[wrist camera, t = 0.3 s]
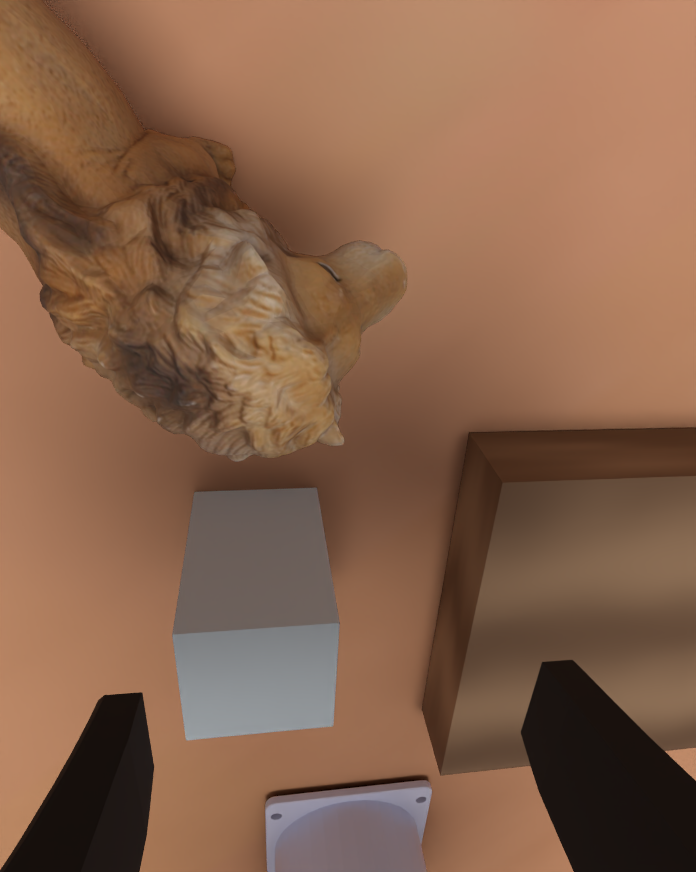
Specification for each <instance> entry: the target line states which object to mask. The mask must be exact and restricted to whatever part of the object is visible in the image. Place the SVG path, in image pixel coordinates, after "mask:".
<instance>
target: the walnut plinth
mask: <svg viewBox="0 0 696 872" xmlns="http://www.w3.org/2000/svg"><path fill="white" fill-rule="evenodd" d="M560 660H573V661H575V662H576V663H577V664H578V665H579V666H580V667H581V668H582V669H583V670H584V671H585V672H586V673H587V674H588V675H589V676H590V678H591V679H592V680H593V681H594V682H595V683H596V684H597V685H598V686H599V687H600V688H601V689H602V690H603V691H604V692H605V693H606V694H607V695H608V696H609V697H610V698H611V699H612V700H613V701H614V702H615V703H616V704H617V705H618V706H619V707H620V708H621V709H622V710H623V711H624V712H625V713H626V714H627V715H628V716H629V717H630V718H631V719H632V720H633V721H634V722H635V723H636V724H637V725H638V726H639V727H640V728H641V729H642V730H643V731H644V732H645V733H646V734H647V735H648V736H649V737H650V738H651V739H652V740H653V741H654V742H655V743H656V744H657V745H658V746H660V747H661V748H662V749H663V750H664V751H669V750H678V749H687V748H696V428H666V429H620V430H574V431H528V432H481V433H469V438H468V444H467V450H466V455H465V461H464V467H463V473H462V479H461V485H460V490H459V496H458V502H457V508H456V514H455V520H454V525H453V531H452V537H451V543H450V549H449V555H448V560H447V566H446V572H445V578H444V584H443V590H442V595H441V601H440V607H439V613H438V619H437V625H436V630H435V636H434V642H433V648H432V654H431V660H430V665H429V671H428V677H427V683H426V689H425V695H424V700H423V706H422V711H423V715H424V718H425V722H426V726H427V729H428V733H429V736H430V740H431V743H432V747H433V751H434V754H435V758H436V761H437V765H438V768H439V772H440V776H441V775H450V774H459V773H468V772H478V771H487V770H496V769H505V768H514V767H523V766H531V765H530V762H529V759H528V755H527V752H526V749H525V746H524V742H523V739H522V736H521V729H522V726H523V723H524V720H525V716H526V713H527V710H528V707H529V703H530V700H531V697H532V693H533V690H534V687H535V684H536V680H537V677H538V674H539V671H540V667H541V664H542V662H547V661H560Z"/></svg>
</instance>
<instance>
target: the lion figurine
mask: <svg viewBox="0 0 696 872" xmlns="http://www.w3.org/2000/svg"><path fill="white" fill-rule="evenodd" d="M235 170H236V168H235V164H234V162H233V156H232V151H231V149H230V148H229V147H228V146H226V145H223V144H221V143H218V142H214V141H211V140H206V139H202V138H197V137H188V138H178V137H175V136H170V135H165V134H162V133H160V132H157V131H154V130H151V129H149V130H145V131H144V129H143V128H142V126H141V125H140V123H139V121H138V119H137V117H136V116H135V114H134V112H133V110H132V109H131V107H130V105H129V104H128V102H127V100H126V99H125V97H124V95H123V93H122V92H121V90H120V89H119V88H118V86H117V85H116V84H115V83H114V81H113V80H112V79H111V77H110V76H109V75H108V74H107V72H106V71H105V70H104V69H103V67H102V66H101V65H100V63H99V62H98V61H97V60H96V58H95V57H94V56H93V55H92V53H91V52H90V51H89V50H88V48H87V47H86V46H85V45H84V44H83V43H82V42H81V41H80V40H79V39H78V38H77V37H76V35H75V34H74V33H73V32H72V31H71V30H70V29H69V28H68V27H67V26H66V25H65V24H64V23H63V22H62V21H61V20H60V19H59V18H58V17H57V16H56V15H55V14H54V13H53V12H52V11H51V10H50V9H49V8H48V7H47V5H46V4H45V3H44V2H43V1H42V0H0V228H1V229H2V230H3V231H5V232H6V233H7V234H8V235H9V236H10V237H11V238H12V239H13V240H14V241H16V242H17V244H18V245H19V246H20V248H21V249H22V251H23V252H24V254H25V255H26V257H27V259H28V260H29V262H30V264H31V266H32V268H33V270H34V271H35V273H36V275H37V277H38V279H39V280H40V282H41V283H42V285H43V287H42V289H41V291H40V301H41V304H42V306H43V308H45V309H46V310H47V311H48V312H49V314H50V317H51V319H52V320H53V323H54V326H55V329H56V332H57V333H58V335H59V337H60V339H61V340H62V341H63V343H65V344H68V345H70V346H71V348H73V349H75V350H76V351H78V352H79V353H80V354H81V355H82V362H83V364H84V365H85V366H87V367H89V368H92V369H96V372H97V373H98V374H99V375H100V376H102V377H104V378H107V379H109V380H111V381H112V382H113V386H114V388H115V390H116V391H117V393H118V394H119V395H121V396H122V397H123V398H124V399H126V400H127V401H128V402H130V403H132V404H134V405H135V406H137V407H139V408H140V409H141V410H142V412H143V414H144V415H145V416H146V417H147V418H149V419H150V420H151V421H152V422H158V424H159V425H160V426H161V427H162V428H163V429H165V430H167V431H169V432H171V433H173V434H186V435H189V436H190V437H192V438H193V439H194V440H195V441H196V442H197V444H198V445H199V446H200V448H202V449H203V450H205V451H206V452H209V453H213V454H217V455H227V457H228V458H229V459H230V460H233V461H236V462H238V461H242V460H245V459H246V458H248V457H249V456H250V455H258V456H261V457H265V458H277V457H280V456H281V455H286V454H290V453H292V452H294V451H296V450H298V449H301V448H304V447H308V446H310V445H312V444H314V443H315V442H316V441H317V442H320V443H323V444H326V445H329V446H338V445H343V443H344V437H343V435H342V434H341V432H340V430H339V427H338V421H339V419H340V417H341V401H342V398H341V395H340V393H339V390H340V387H339V382H340V381H341V379H342V378H343V377H344V376H345V375H346V374H347V373H348V371H349V370H350V369H351V368H352V367H353V366H354V364H355V363H356V361H357V360H358V358H359V356H360V342H361V334H362V333H363V332H364V331H365V330H366V329H367V327H369V326H371V325H373V324H375V323H377V322H379V321H381V320H382V319H383V318H384V317H385V316H386V315H388V314H389V313H390V312H391V310H392V309H393V308H394V306H395V305H396V304H397V303H398V302H399V300H400V299H401V298H402V296H403V295H404V293H405V291H406V288H407V271H406V266H405V264H404V262H403V260H402V259H401V258H400V257H399V256H398V255H397V254H395V253H394V252H392V251H390V250H382V249H381V248H380V247H378V246H377V245H376V244H373V243H371V242H365V241H360V240H359V241H354V242H350V243H348V244H345V245H343V246H341V247H340V248H338V249H336V250H335V251H333V252H331V253H329V254H326V255H323V256H310V255H304V254H298V253H293V252H291V251H289V250H288V248H287V244H286V242H285V241H284V240H283V238H282V237H281V236H280V234H279V233H278V232H277V231H276V230H275V229H274V228H273V226H272V225H271V224H270V223H269V222H268V221H266V220H265V219H263V218H260V217H258V216H257V214H256V213H255V212H254V211H251V210H250V209H249V208H248V206H247V204H245V203H243V202H241V201H240V200H239V198H238V196H237V194H236V193H235V192H234V191H233V189H232V188H231V187H230V186H231V179H232V177H233V175H234V173H235Z"/></svg>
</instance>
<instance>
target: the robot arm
mask: <svg viewBox="0 0 696 872" xmlns="http://www.w3.org/2000/svg"><path fill="white" fill-rule="evenodd" d="M521 736H522V739H523V742H524V746H525V749H526V752H527V755H528V759H529V762H530V765H531V768H532V771H533V775H534V778H535V781H536V784H537V787H538V790H539V792H540V795H541V797H542V800H543V802H544V804H545V807H546V809H547V811H548V814H549V816H550V818H551V821H552V823H553V825H554V827H555V830H556V832H557V834H558V837H559V839H560V841H561V844H562V846H563V848H564V850H565V853H566V855H567V857H568V859H569V862H570V864H571V866H572V869H573V871H574V872H696V781H695V780H694V779H693V778H692V777H691V776H690V775H689V774H688V773H687V772H686V771H685V770H684V769H683V768H681V767H680V766H679V765H678V764H677V763H676V762H675V761H674V760H673V759H672V758H671V757H670V756H669V755H668V754H667V753H666V752H665V751H664V750H663V749H662V748H661V747H660V746H658V745H657V744H656V743H655V742H654V741H653V740H652V739H651V738H650V737H649V736H648V735H647V734H646V733H645V732H644V731H643V730H642V729H641V728H640V727H639V726H638V725H637V724H636V723H635V722H634V721H633V720H632V719H631V718H630V717H629V716H628V715H627V714H626V713H625V712H624V711H623V710H622V709H621V708H620V707H619V706H618V705H617V704H616V703H615V702H614V701H613V700H612V699H611V698H610V697H609V696H608V695H607V694H606V693H605V692H604V691H603V690H602V689H601V688H600V687H599V686H598V685H597V684H596V683H595V682H594V681H593V680H592V679H591V678H590V676H589V675H588V674H587V673H586V672H585V671H584V670H583V669H582V668H581V667H580V666H579V665H578V664H577V663H576V662H575V661H573V660H560V661H547V662H542V664H541V667H540V671H539V674H538V677H537V680H536V684H535V687H534V690H533V693H532V697H531V700H530V703H529V707H528V710H527V713H526V716H525V720H524V723H523V726H522V729H521ZM153 772H154V764H153V757H152V751H151V745H150V739H149V732H148V726H147V720H146V713H145V707H144V701H143V694H142V692H141V693H128V694H115V695H104V696H103V697H102V698H101V699H100V700H98V702H97V704H96V706H95V708H94V711H93V713H92V715H91V717H90V719H89V721H88V723H87V724H86V726H85V728H84V730H83V732H82V734H81V736H80V738H79V740H78V742H77V744H76V745H75V747H74V749H73V751H72V753H71V755H70V756H69V758H68V760H67V762H66V763H65V765H64V767H63V769H62V771H61V772H60V774H59V776H58V778H57V779H56V781H55V783H54V785H53V786H52V788H51V790H50V791H49V793H48V795H47V796H46V798H45V800H44V801H43V803H42V805H41V806H40V808H39V809H38V811H37V813H36V814H35V816H34V818H33V819H32V821H31V823H30V824H29V826H28V828H27V829H26V831H25V833H24V834H23V836H22V838H21V839H20V841H19V842H18V844H17V845H16V847H15V849H14V850H13V852H12V853H11V855H10V856H9V858H8V859H7V861H6V862H5V864H4V865H3V867H2V868H1V870H0V872H139V871H140V866H141V861H142V856H143V851H144V846H145V841H146V836H147V827H148V819H149V810H150V801H151V792H152V782H153ZM431 795H432V788H431V784H430V783H429V782H428V781H426V780H418V781H409V782H400V783H391V784H382V785H373V786H364V787H355V788H346V789H337V790H327V791H318V792H309V793H300V794H291V795H282V796H275V797H271V798H269V799H268V800H267V801H266V803H265V817H266V852H267V872H427V869H426V865H425V860H424V856H423V852H422V847H421V843H422V839H423V834H424V829H425V824H426V819H427V814H428V809H429V804H430V800H431Z"/></svg>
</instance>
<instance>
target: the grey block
mask: <svg viewBox="0 0 696 872" xmlns="http://www.w3.org/2000/svg"><path fill="white" fill-rule="evenodd" d="M339 625H340V622H339V616H338V610H337V604H336V598H335V592H334V586H333V580H332V574H331V569H330V563H329V557H328V551H327V545H326V539H325V533H324V527H323V521H322V515H321V509H320V503H319V497H318V491H317V488H290V489H261V490H232V491H204V492H194V497H193V504H192V510H191V517H190V523H189V530H188V536H187V543H186V549H185V556H184V562H183V569H182V575H181V582H180V588H179V595H178V601H177V608H176V614H175V621H174V627H173V634H172V636H173V644H174V651H175V659H176V667H177V675H178V682H179V690H180V698H181V705H182V713H183V721H184V729H185V736H186V740H195V739H206V738H216V737H227V736H237V735H247V734H258V733H268V732H278V731H289V730H299V729H310V728H320V727H330V726H333V722H334V706H335V690H336V674H337V658H338V641H339Z"/></svg>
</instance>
